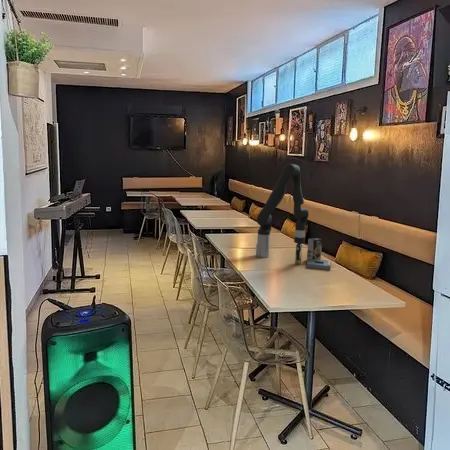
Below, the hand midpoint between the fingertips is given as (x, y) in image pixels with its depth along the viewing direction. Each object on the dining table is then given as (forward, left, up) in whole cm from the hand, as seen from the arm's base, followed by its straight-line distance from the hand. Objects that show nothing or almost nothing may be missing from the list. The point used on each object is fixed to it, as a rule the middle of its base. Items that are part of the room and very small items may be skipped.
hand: (298, 259), depth 328 cm
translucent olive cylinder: (0, 0, -3) cm, 3 cm away
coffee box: (+10, +18, -4) cm, 21 cm away
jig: (+15, -1, -3) cm, 15 cm away
